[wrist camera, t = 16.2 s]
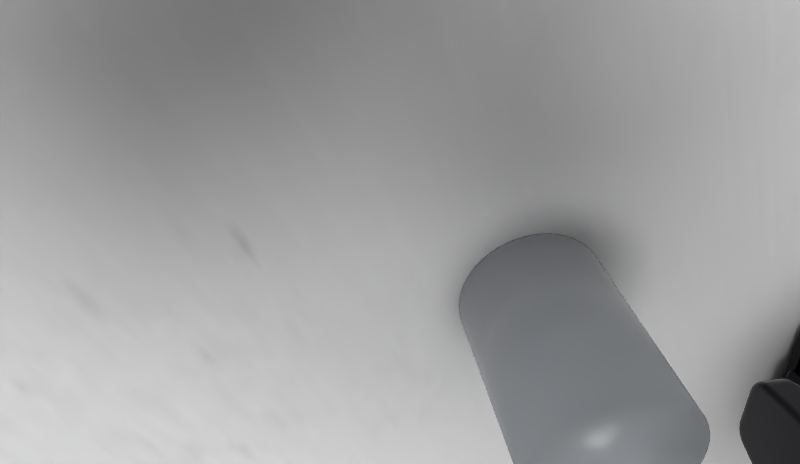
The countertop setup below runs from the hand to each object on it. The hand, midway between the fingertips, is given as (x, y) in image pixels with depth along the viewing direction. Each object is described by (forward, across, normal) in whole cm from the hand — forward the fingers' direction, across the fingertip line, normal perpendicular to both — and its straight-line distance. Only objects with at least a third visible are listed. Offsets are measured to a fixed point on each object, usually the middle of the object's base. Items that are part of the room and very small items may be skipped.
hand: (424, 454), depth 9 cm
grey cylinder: (+12, -6, +8) cm, 16 cm away
